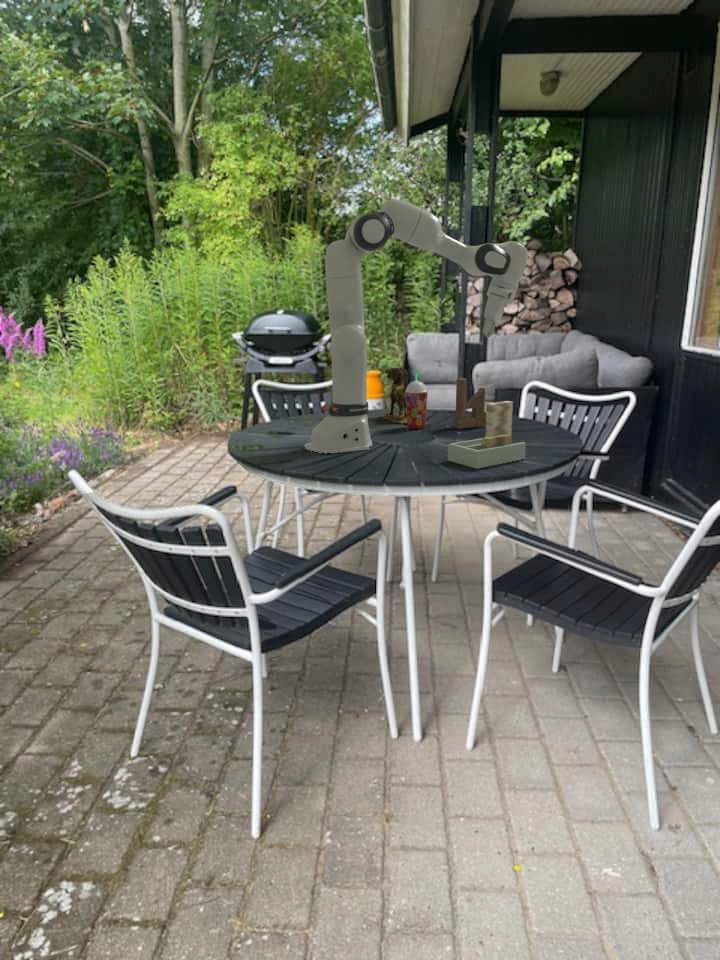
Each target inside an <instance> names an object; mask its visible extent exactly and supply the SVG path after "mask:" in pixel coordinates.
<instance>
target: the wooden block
mask: <svg viewBox="0 0 720 960" xmlns="http://www.w3.org/2000/svg"><path fill="white" fill-rule="evenodd" d="M467 384H468V383H467V378H464V377H460V378H456V388H455V389H456V391H455V392H456V396H455V401H456V402H455V417H454V418H453V427H454V429H455V428H456V429H458V430H460V429H461V430H462V429H471V428H483V427H485V406H486V388H484V387H479V388H478V390H477V391H476V392H475V393H474V394H473V395H472V397H471V398H469V400H468V401H467ZM467 409H468V410H469V409H470V410H471V416H467Z"/></svg>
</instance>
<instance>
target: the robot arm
mask: <svg viewBox="0 0 720 960" xmlns="http://www.w3.org/2000/svg"><path fill="white" fill-rule="evenodd" d="M379 210H380V211H378V212H369V213H366V214H362V215H359V216H357V217H356V218H355V219H354V220H352V221H351V223H349V225H348V226H347V228H346V231H345V233H344V235H343V238H342V239H337V240H335V241H333V242H331V243H330V244H329V245H327V248H326V251H325V265H324V266H325V269H324V270H325V283H326V285H325V286H326V295H327V307H328V317H329V328H330V340H331V341H330V342H331V343H330V344H331V345H330V346H331V377H332V378H331V379H332V380H331V382H332V383H331V384H332V385H331V386H332V388H331V389H332V402H331V404H330V405H329V404H326V403H325V404H322V406H321V408H322V410H323V411H325V412H328V413H327V416H326V417H324V418H323V419H322V420H321V421H320V422H319V423H318V424H317V425H316V426H314V427H313V429H312V431H311V437H310V442H308V443H305V444H304V445H303V448H304V447H305V448H304V449H305V450H306V449H307V450H306V451H309V450H310V451H309V452H312V451H314V452H313V453H315V452H318V453H317V454H321V453H325V454H324V455H328V454H327V453H331V454H339V453H348V452H356V451H358V452H359V451H367V450H369V449H370V447H372V446H373V442H372V438H371V434H370V428H369V419H368V418H369V402H368V392H367V391H368V390H367V387H368V385H367V383H368V382H367V381H368V380H367V379H368V378H367V376H368V375H367V374H368V338H367V336H366V331H365V328H366V327H365V315H364V314H365V313H364V294H363V293H364V292H363V282H362V281H363V279H362V270H361V263H362V259H363V257H364V255H366V254H372V253H374V252H377V251H378V250H380V249H381V248H383V247H384V246H385V244H386V243H387V242H388V241H389V239H390V238H394V239H399V240H400V241H402V242H404V243H405V244H406V243H407V244H409V245H410V246H414V247H416V248H419V249H421V250H422V249H423V250H426V251H430V252H433V253H434V254H436V255H437V254H438V255H439V256H441V257H443V258H444V259H446V260H449V261H451V262H452V263H454V264H456V265H457V266H458V267H459V268H460V270H461V271H462V272H463V273H464V274H465V275H466V276H468V277H469V278H475V279H477V278H481V277H484V276H489V277H491V281H490V284H489V287H488V290H487V292H486V296H487V301H486V305H485V308H484V314H483V316H484V318H485V321H484V326H483V328H482V331H481V332H482V333H483V334H484V336H485V337H486V338H491V336H492V333H493V331H494V329H495V327H499V325H500V323H501V320H502V317H503V314H504V311H505V308H507V307H508V304H510V305H511V304H513V302H514V300H515V297H516V296H517V295H516V294H517V292H518V289H519V282H520V280H521V279H522V278H523V275H524V274H525V270H526V266H527V265H528V264H527V263H528V259H529V251H528V249H527V248H526V247H525V246H524V245H523V244H521V243H520V242H517V241H515V240H508V241H506V242H501V243H488V242H487V243H483V244H479V245H466V244H463V243H462V242H459V240H456V239H454V238H453V237H450V236H449V235H447V234H446V233H444V231H443V230H442V223H441V221H440V219H439V218H438V217H437V216H435V215H434V214H433V213H432V212H429V211H428V210H426V209H424V208H422V207H420V206H418V205H416V204H413V203H411V202H408V201H403V200H401V199H396V198H392V199H389V200H387V201H386V202H385V203H383V205H382V206H381V208H380V209H379ZM338 452H339V453H338Z"/></svg>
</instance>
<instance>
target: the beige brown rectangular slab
mask: <svg viewBox="0 0 720 960" xmlns="http://www.w3.org/2000/svg"><path fill="white" fill-rule="evenodd" d="M513 403H514V401H510V400H504V401H496V402H489V403H486V405H485V406H486V411H485V413H486V414H485V416H486V417H485V437H484V438H486V437H491V436H497V435H511V436H512V431H513V409H514V408H513Z"/></svg>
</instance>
